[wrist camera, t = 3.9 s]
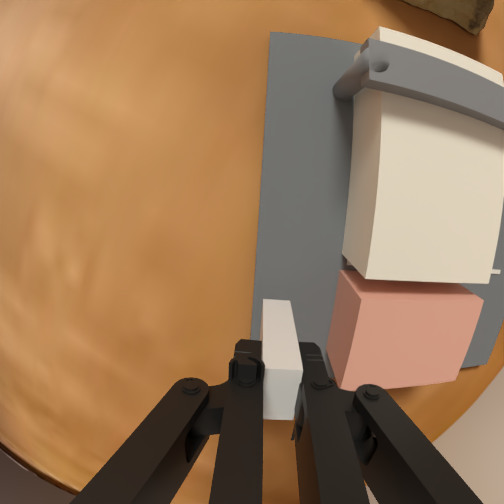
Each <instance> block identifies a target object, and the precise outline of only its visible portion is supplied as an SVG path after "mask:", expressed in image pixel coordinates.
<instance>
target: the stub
mask: <svg viewBox="0 0 504 504" xmlns="http://www.w3.org/2000/svg"><path fill="white" fill-rule="evenodd" d="M483 302H484V300H483V299H481V298H480V297H478V296H477V295H475V294H474V293H472V292H471V291H469V290H468V289H466V288H465V287H463V286H462V285H460V284H459V283H448V282H421V281H398V280H376V279H365V278H364V277H363V276H362V275H361V274H360V273H359V272H358V271H351V270H339V277H338V283H337V290H336V296H335V302H334V308H333V314H332V319H331V325H330V330H329V335H328V340H327V345H326V351H327V354H328V357H329V360H330V363H331V366H332V369H333V372H334V375H335V378H336V381H337V385H338V388H340V389H344V390H348V391H356V389H357V388H358V387H359V386H361V385H363V384H374V385H377V386H380V387H382V388H383V389H391V388H402V387H411V386H420V385H428V384H436V383H443V382H449V381H455V380H456V377H457V375H458V373H459V370H460V368H461V365H462V363H463V361H464V358H465V356H466V353H467V350H468V348H469V345H470V342H471V339H472V337H473V334H474V331H475V328H476V325H477V322H478V319H479V316H480V312H481V309H482V306H483Z"/></svg>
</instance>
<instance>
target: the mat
mask: <svg viewBox="0 0 504 504" xmlns="http://www.w3.org/2000/svg"><path fill="white" fill-rule="evenodd" d="M362 45H363V44H358V43H353V42H348V41H343V40H337V39H331V38H325V37H318V36H310V35H302V34H293V33H282V32H270V47H269V64H268V80H267V97H266V113H265V129H264V144H263V160H262V176H261V191H260V206H259V221H258V236H257V251H256V266H255V281H254V295H253V310H252V324H251V338H250V340H260V330H261V318H262V307H263V299H273V300H289V301H290V303H291V308H292V313H293V318H294V323H295V329H296V334H297V339H298V342H314V343H315V344H316V345H318V346H319V347H320V349H321V353H322V356H323V359H324V360H323V361H324V363H325V366H326V370H327V373H328V376H329V377H330V378H335V375H334V372H333V369H332V366H331V363H330V360H329V357H328V354H327V351H326V345H327V340H328V335H329V330H330V325H331V319H332V314H333V308H334V302H335V296H336V290H337V283H338V277H339V270H351V271H358V270H357V269H356V268H355V267H354V266H353V265H352V264H351V263H350V262H349V261H348V260H347V259H346V258H345V257H344V255H343V254H342V248H343V240H344V232H345V223H346V214H347V204H348V194H349V183H350V170H351V155H352V138H353V115H354V96H353V97H352V98H350V99H349V100H347V101H340V100H338V99H337V98H336V97H335V96H334V95H333V92H332V89H333V86H334V85H335V83H336V82H337V81H338V80H339V79H340V78H341V76H342V75H343V74H344V73H345V72H346V71H347V69H348V68H349V67H350V66H351V65H352V64H353V62H354V56H355V55H356V53H357V52H358V51H359V50H360V47H361V46H362ZM459 284H460V285H462V286H463V287H465V288H466V289H468V290H469V291H471V292H472V293H474V294H475V295H477V296H478V297H480V298H481V299H483V300H484V302H483V306H482V309H481V312H480V316H479V319H478V322H477V325H476V328H475V331H474V334H473V337H472V339H471V342H470V345H469V348H468V350H467V353H466V356H465V358H464V361H463V363H462V365H461V368H466V367H472V366H478V365H484V364H487V362H488V359H489V357H490V355H491V352H492V350H493V347H494V345H495V342H496V339H497V337H498V334H499V331H500V328H501V325H502V322H503V319H504V199H503V208H502V216H501V223H500V230H499V236H498V242H497V247H496V253H495V258H494V262H493V267H492V271H491V276H490V280H489V284H480V283H459Z"/></svg>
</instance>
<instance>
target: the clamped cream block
mask: <svg viewBox="0 0 504 504" xmlns="http://www.w3.org/2000/svg"><path fill="white" fill-rule="evenodd" d="M332 92H333V95H334V96H335V97H336V98H337V99H338V100H340V101H347V100H349V99H350V98H352V97H353V96H354V115H353V138H352V155H351V170H350V183H349V194H348V204H347V214H346V223H345V232H344V240H343V248H342V254H343V255H344V257H345V258H346V259H347V260H348V261H349V262H350V263H351V264H352V265H353V266H354V267H355V268H356V269H357V270H358V272H359V273H360V274H361V275H362V276H363V277H364V278H365V279H376V280H398V281H421V282H448V283H480V284H489V280H490V276H491V271H492V267H493V262H494V258H495V253H496V247H497V242H498V236H499V230H500V223H501V216H502V208H503V199H504V85H503V76H502V74H501V73H499V72H497V71H495V70H493V69H492V68H490V67H488V66H486V65H484V64H481V63H479V62H477V61H475V60H473V59H471V58H469V57H466V56H464V55H462V54H459V53H457V52H455V51H452V50H450V49H447V48H445V47H442V46H440V45H437V44H434V43H432V42H429V41H426V40H423V39H420V38H417V37H414V36H411V35H408V34H405V33H401V32H398V31H395V30H391V29H387V28H384V27H380V26H379V27H378V28H377V30H376V31H375V32H374V33H373V34H372V36H371V37H370V38H368V39H367V40H366V41H365V43H364V44H363V45H362V46H361V47H360V50H359V51H358V52H357V53H356V55H355V56H354V62H353V64H352V65H351V66H350V67H349V68H348V69H347V71H346V72H345V73H344V74H343V75H342V76H341V78H340V79H339V80H338V81H337V82H336V83H335V85H334V86H333V89H332Z"/></svg>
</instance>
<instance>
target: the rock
mask: <svg viewBox="0 0 504 504" xmlns="http://www.w3.org/2000/svg"><path fill="white" fill-rule="evenodd" d="M403 1H405V2H407V3H409V4H411V5H413V6H417V7H420V8H421V9H424V10H429V11H431V12H433V13H435V14H437V15H438V16H441V17H443V18H446V19H450V20H453V21H455V22H456V23H457V24H459V25H460V26H461V27H463V28H465V29H466V30H467V31H468V32H470V33H472V34H474V35H478V33H479V32H480V31H481V30H482V29H483V28H484V27H485V24H486V21H487V19H488V16H489V14H490V12H491V11H492V9H493V6H494V0H403Z"/></svg>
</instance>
